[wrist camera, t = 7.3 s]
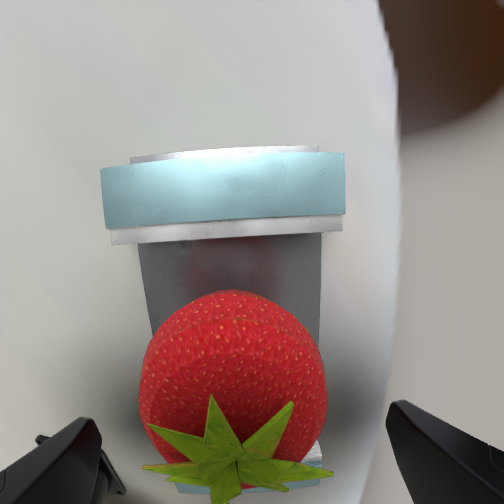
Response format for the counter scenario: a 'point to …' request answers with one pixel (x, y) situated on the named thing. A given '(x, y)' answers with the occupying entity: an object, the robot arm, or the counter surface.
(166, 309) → the vise
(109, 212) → the block
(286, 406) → the strawberry
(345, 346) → the counter surface
